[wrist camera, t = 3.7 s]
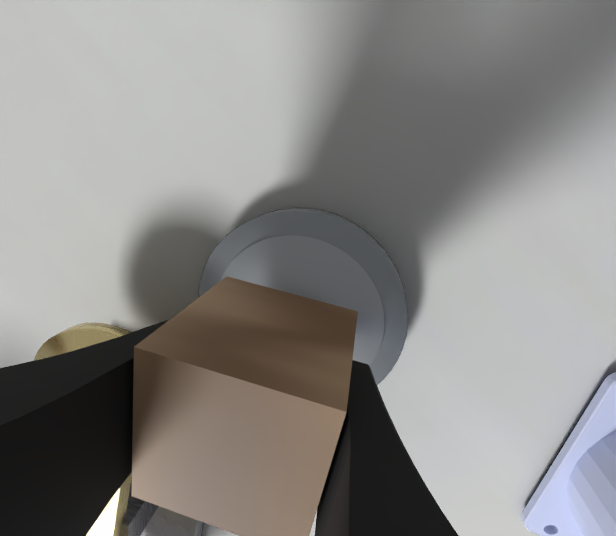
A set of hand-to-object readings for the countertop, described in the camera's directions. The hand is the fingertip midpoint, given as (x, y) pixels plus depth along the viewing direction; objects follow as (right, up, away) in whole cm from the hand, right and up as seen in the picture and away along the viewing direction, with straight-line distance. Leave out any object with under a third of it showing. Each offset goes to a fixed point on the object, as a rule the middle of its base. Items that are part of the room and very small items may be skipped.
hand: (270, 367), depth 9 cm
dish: (+1, +1, +4) cm, 4 cm away
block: (0, 0, +1) cm, 1 cm away
